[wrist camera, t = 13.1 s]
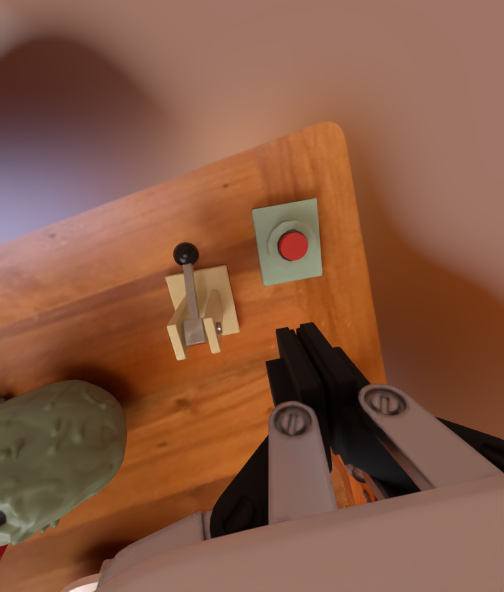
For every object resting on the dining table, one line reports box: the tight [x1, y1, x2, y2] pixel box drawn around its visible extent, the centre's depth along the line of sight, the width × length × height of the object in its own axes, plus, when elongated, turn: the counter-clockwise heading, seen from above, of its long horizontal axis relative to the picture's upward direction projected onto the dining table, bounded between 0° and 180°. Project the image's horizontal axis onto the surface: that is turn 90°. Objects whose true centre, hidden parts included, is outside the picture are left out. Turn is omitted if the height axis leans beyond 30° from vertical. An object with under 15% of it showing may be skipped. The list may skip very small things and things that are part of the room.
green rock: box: [0, 380, 127, 546], centre depth 32 cm, size 16×19×20 cm
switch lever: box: [173, 242, 209, 346], centre depth 29 cm, size 13×3×3 cm
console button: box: [279, 232, 308, 260], centre depth 32 cm, size 4×4×2 cm
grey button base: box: [251, 198, 322, 286], centre depth 34 cm, size 11×9×4 cm
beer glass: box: [332, 453, 378, 507], centre depth 44 cm, size 7×7×15 cm
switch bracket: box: [165, 265, 240, 360], centre depth 32 cm, size 11×9×12 cm
